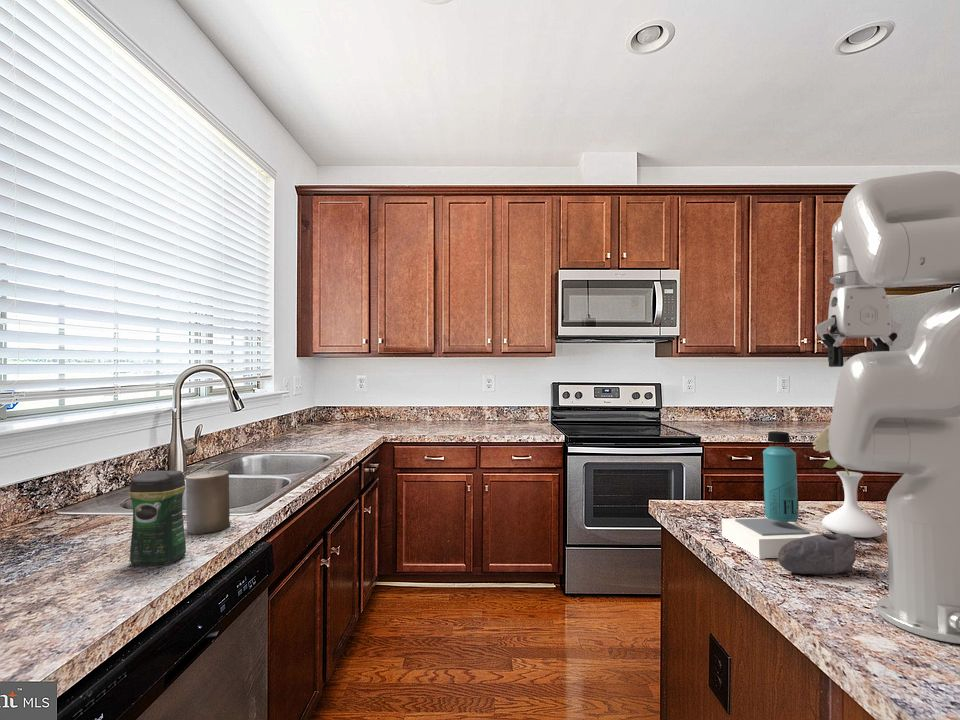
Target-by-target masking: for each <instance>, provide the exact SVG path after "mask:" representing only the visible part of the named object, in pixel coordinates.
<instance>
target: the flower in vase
mask: <svg viewBox="0 0 960 720" xmlns="http://www.w3.org/2000/svg"><path fill="white" fill-rule="evenodd" d="M829 428H830V424H828V425H827V427H825V428H824V429H823V431H821V432H819V433H817V437H816V438H815V439H814V440H813V442H812V445H813V450H814V451H816V452H819V453H826V452H830V450H829V441H828V438H829ZM837 466H839V464H838V463H837V462H835V460H834V459H833V458H831V459H830V460H827V461H826V462H825V463H824V464H823V465H822V467H824V468H827V469H834V468H836V467H837ZM836 475H838V477H839V478H840V480H841V482H842V487H843V491H844V492H843V493H844V501H843V504H842V505H841V507H838V509H835V510H834V511H832V512H830V513H829V514H827V515H826V516H824V517H823V518H822V521H821V524H822V526H823V527H824V528H825V529H827V530H828V531H830V532H833V533H834V534H849V535H851V536H852V537H853V538H863V539H864V538H865V539H866V538H875V537H879V536H881V535H882V534H883V533H884V529H883V527H882V525H881V524H880V523H879V522H878V521H876V519H874V518H873V517H871V516H870V515H869V514H867V513H866V512H865V511H864V510H862V508H860V506H859V503H858V498H857V497H858V496H857V495H858V493H857V491H858V486H859V482H860V481H861V479H862V477H864V474H863V473H862V472H857V471H849V469H847V468H844V470H840V471H836Z"/></svg>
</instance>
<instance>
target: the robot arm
mask: <svg viewBox="0 0 960 720" xmlns="http://www.w3.org/2000/svg"><path fill="white" fill-rule="evenodd" d="M831 241H832V264H833V267H832V268H833V271H832V273H833V277H830V278H829V283H830V284H832V285H833V290H832V291H831V293H830V298H829V304H828V316H827V319H826V320H824V321H822V322H820V323H818V324H817V325H815V326H814V329H815V331H816V333H817V336H818V339H819V340H820V341H821V342H822V343H823V344H824V345H823V346H824V348H827V359H828V367H829V368H836V367H837V368H838V367H839V368H841V369H840V373H839V377H838V380H837V385H836V390H835V396H834V402H833V406H832V412H831V418H830V422H829V425H830V428H829V438H828V441H829V453H830V455H831V457H832V459H834V460H835V462H837V463H838V466H841V467H842V468H844V469H845V468H847V470H851V471H852V470H853V471H861V472H862V471H863V472H865V471H866V472H878V473H879V472H881V473H895V474H896V473H898V474H902V476H901V477H900V478H899V479H898V481H897V482H895V483H894V485H893V486H892V487H891V489H890V490H889V492H888V495H887V498H886V502H885V511H886V539H887V540H886V541H887V542H886V543H887V570H888V571H887V572H888V596H885V597H882V598H879V599H878V600H877V601H876V612H877V613H878V615H879V616H881V617H882V618H883V619H884V620H885V621H887V622H889V623H890V624H891V625H894V626H895V627H897V628H900V629H902V630H904V631H907V632H909V633H912V634H915V635H918V636H921V637H923V638H928V639H932V640H936V641H940V642H946V643H949V644H950V643H952V644H959V645H960V286H959V287H958V288H957V289H956V290H954V291H953V292H952V293H949V294H948V295H947V296H945V297H943V298H941V300H940V301H939V302H937V303H936V304H934V306H933V307H931V309H930V310H928V311H927V312H926V313H925V314H924V315H923V316H922V318H921V319H920V320H919V322H918V324H917V327H916V329H915V330H916V331H915V335H914V338H913V342H912V343H911V346H910V347H909V348H907V349H903V350H890V347H892V346H893V344H894V342H895V340H897V338H898V334H899V332H900V330H901V328H902V326H901V324H899V323H898V322H896V321H894V320H892V319H891V311H890V306H889V300H888V297H887V292H886V290H885V288H891V289H892V288H905V287H919V286H920V287H921V286H935V285H936V286H937V285H950V284H953V285H954V284H960V173H957V172H953V171H948V170H933V171H932V170H931V171H923V172H915V173H907V174H900V175H893V176H885V177H884V176H883V177H878V178H877V177H876V178H872V179H867V180H863V181H861V182H859V183H858V184H856V185H855V186H853V188H851V190H850V191H849V192H848V193H847V195H846V196H845V198H844V200H843V204H842V206H841V212H840V216H839V217H838V218H837V220H836V221H835V222H834V223H833V225H832V228H831ZM867 338H870V340H871V341H872V343H874V344H875V345H876V346H873V349H872V350H873V351H866V352H861V353H858V354H855V355H852V356H851V357H849V358H848V359H847V360H846V362H845V363H844V347H843V346H841V345H842V343H843V342H844V340H846V339H867Z"/></svg>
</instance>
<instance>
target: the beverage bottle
mask: <svg viewBox="0 0 960 720" xmlns="http://www.w3.org/2000/svg"><path fill="white" fill-rule="evenodd" d="M767 434H768V435H767V442H769V443H770V442H771V443H778V444H779V443H781V444H783V443H785V444H787V443H790V442H791V440H790V433H789V432H787V431H769V432H768V433H767ZM762 457H763V459H762V460H763V462H762V463H763V498H764V499H763V502H764V505H763V510H764V511H763V512H764V515H765V517H767V518H769V519H772V520H776V521H782V522H794V523H796V522H797V521H798V520H799V516H800V507H799V503H800V502H799V498H798V480H799V479H798V474H799V473H798V470H797V469H798V467H797V452H795V451H794V450H793V449H792V448H791V447H787V446H776V445H775V446H768V447H766V448H765V449H764V450H763V451H762Z"/></svg>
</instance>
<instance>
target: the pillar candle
mask: <svg viewBox="0 0 960 720" xmlns="http://www.w3.org/2000/svg"><path fill="white" fill-rule="evenodd" d="M185 491H186V492H185V493H186V494H185V496H186V497H185V501H186V507H185V508H186V511H185V514H186V533H188V534H191V535H203V534H210V533H211V534H212V533H214V532H220V531H223V530H225V529H226V530H227V528H229V527H230V526H231V523H230V518H231V517H230V515H231V514H230V513H231V512H230V473H229V471H228V470H223V469H222V470H221V469H217V470H210V469H209V468H207V470H206V471H200V472H194V473H191V474H188V475H186V476H185Z"/></svg>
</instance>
